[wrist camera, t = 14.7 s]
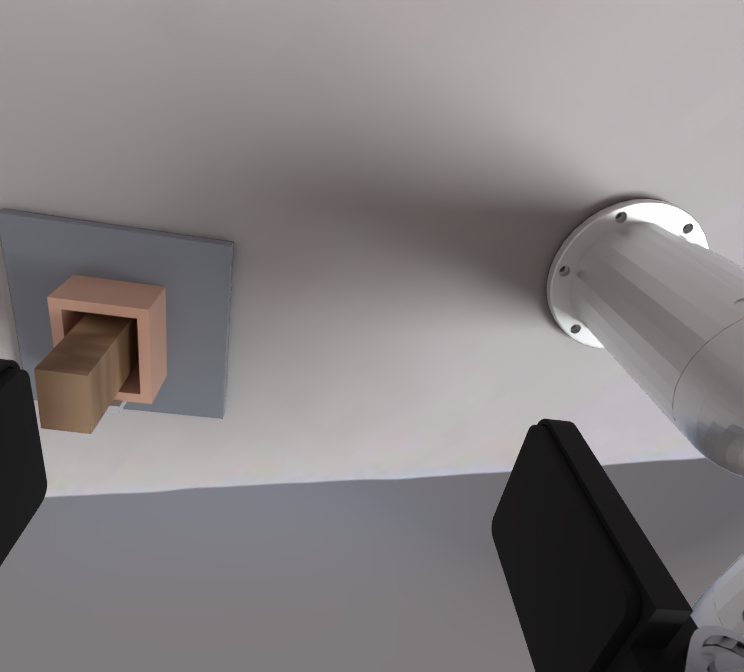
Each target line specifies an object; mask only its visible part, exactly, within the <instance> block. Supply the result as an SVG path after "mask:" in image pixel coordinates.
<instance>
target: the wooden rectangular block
mask: <svg viewBox="0 0 744 672" xmlns="http://www.w3.org/2000/svg"><path fill="white" fill-rule="evenodd" d="M138 361H139V349H138V327H137V318H129V317H121V316H113V315H105V314H96V313H87V314H86V315H85V316H84V317H83V318H82V319H81V320H80V321H79V322H78V323H77V325H76V326H75V327H74V328H73V329H72V330H71V331H70V332H69V333H68V334H67V335H66V336H65V337H64V338H63V339H62V340H61V341H60V342H59V343H58V344H57V345H56V346H55V347H54V349H53V350H52V351H51V352H50V353H49V354H48V355H47V356H46V357H45V358H44V359H43V360H42V361H41V362H40V363H39V364H38V365H37V366H36V367H35V368H34V374H35V382H36V390H37V399H38V407H39V415H40V423H41V428H44V429H53V430H62V431H70V432H79V433H88V434H91V433H92V432H93V430H94V429H95V427H96V426H97V424H98V423H99V421H100V419H101V418H102V416H103V415H104V413H105V412H106V410H107V409H108V407H109V405H110V404H111V402H112V401H113V399H114V398H115V396H116V395H117V393H118V392H119V390H120V388H121V387H122V385H123V384H124V382H125V381H126V379H127V378H128V376H129V374H130V373H131V371H132V370H133V368H134V367H135V365H136V364H137V362H138Z"/></svg>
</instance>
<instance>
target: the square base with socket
mask: <svg viewBox="0 0 744 672" xmlns="http://www.w3.org/2000/svg"><path fill="white" fill-rule="evenodd" d="M0 237H1V243H2V249H3V255H4V261H5V266H6V272H7V278H8V284H9V290H10V296H11V302H12V307H13V313H14V319H15V325H16V331H17V337H18V342H19V348H20V354H21V360H22V366H23V370H25V371H27V372H28V374H29V377H30V382H31V388H32V394H33V400H38V399H37V390H36V382H35V374H34V368H35V367H36V366H37V365H38V364H39V363H40V362H41V361H42V360H43V359H44V358H45V357H46V356H47V355H48V354H49V353H50V352H51V351H52V350H53V349H54V347H55V346H56V345H57V344H58V343H59V342H60V341H61V340H62V339H63V338H64V337H65V336H66V335H67V334H68V333H69V332H70V331H71V330H72V329H73V328H74V327H75V326H76V325H77V323H78V322H79V321H80V320H81V319H82V318H83V317H84V316H85V315H86V314H87V313H96V314H105V315H113V316H121V317H129V318H137V327H138V349H139V361H138V362H137V364H136V365H135V367H134V368H133V370H132V371H131V373H130V374H129V376H128V378H127V379H126V381H125V382H124V384H123V385H122V387H121V388H120V390H119V392H118V393H117V395H116V396H115V398H114V399H113V401H112V402H111V404H110V405H109V407H108V409H107V410H106V412H115V413H120V412H121V411H122V409H131V410H141V411H151V412H161V413H171V414H181V415H191V416H201V417H211V418H221V419H223V416H224V413H225V401H226V381H227V361H228V341H229V321H230V301H231V280H232V260H233V242H228V241H222V240H215V239H208V238H201V237H194V236H187V235H180V234H174V233H167V232H160V231H153V230H146V229H139V228H132V227H126V226H119V225H112V224H105V223H98V222H91V221H84V220H78V219H71V218H64V217H57V216H50V215H43V214H36V213H30V212H23V211H16V210H9V209H3V210H1V211H0Z"/></svg>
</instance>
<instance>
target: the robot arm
mask: <svg viewBox="0 0 744 672" xmlns="http://www.w3.org/2000/svg"><path fill="white" fill-rule="evenodd" d="M617 214H618V216H616V215H617ZM562 267H563V268H562ZM561 268H562V269H561ZM560 269H561V270H560ZM547 300H548V305H549V309H550V311H551V313H552V315H553V317H554V319H555V321H556V322H557V323H558V325H559V326H560V327H561V329H562V330H563V331H564V332H565V333H566V334H567V335H568V336H570V337H571V338H573V339H574V340H576V341H578V342H579V343H581V344H584V345H587V346H590V347H595V348H603V349H607V351H608V352H609V353H610V354H611V355H612V356H613V357H614V358H615V359H616V361H617V362H618V363H619V364H620V365H621V366H622V367H623V368H624V370H625V371H626V372H627V373H628V374H629V375H630V376H631V377H632V378H633V380H634V381H635V382H636V383H637V384H638V385H639V386H640V387H641V388H642V390H643V391H644V392H645V393H646V394H647V395H648V396H649V397H650V398H651V400H652V401H653V402H654V403H655V404H656V405H657V406H658V407H659V408H660V410H661V411H662V412H663V413H664V414H665V415H666V416H667V417H668V418H669V420H670V421H671V422H672V423H673V424H674V425H675V426H676V427H677V428H678V429H679V431H680V432H682V434H683V435H684V436H685V437H686V438H687V439H688V440H689V441H690V442H691V444H692V445H693V446H694V447H695V448H696V449H697V450H698V451H699V452H701V453H702V454H703V455H704V456H705V457H706V458H708V459H709V460H710V461H712V462H713V463H715V464H716V465H718V466H720V467H722V468H724V469H726V470H728V471H730V472H732V473H734V474H737V475H739V476H742V477H744V268H743V267H741V266H739V265H737V264H736V263H734V262H732V261H730V260H728V259H726V258H724V257H722V256H721V255H719V254H717V253H715V252H713V251H711V250H709V249H708V244H707V240H706V237H705V233H704V232H703V230H702V228H701V227H700V225H699V223H698V222H697V221H696V220H695V219H694V218H693V217H692V216H691V215H690V214H689V213H687V212H686V211H684V210H682V209H680V208H679V207H677V206H675V205H672V204H670V203H667V202H665V201H659V200H654V199H634V200H629V201H625V202H620V203H617V204H614V205H612V206H609V207H607V208H604V209H602V210H601V211H599V212H597V213H596V214H594V215H592V216H591V217H589V218H588V219H586V220H585V221H584V222H583V223H582V224H580V225H579V226H578V227H577V228H576V229H575V230H574V231H573V232H572V233H571V234H570V235H569V236H568V238H567V239H566V240H565V241H564V242H563V244H562V246H561V247H560V249H559V250H558V252H557V254H556V255H555V258H554V260H553V263H552V265H551V267H550V270H549V275H548V280H547ZM46 490H47V479H46V473H45V467H44V460H43V454H42V448H41V442H40V436H39V430H38V424H37V418H36V412H35V406H34V400H33V394H32V388H31V382H30V377H29V374H28V372H27V371H25V370H20V367H19V365H18V364H17V362H15V361H13V360H5V359H0V566H1V564H2V563H3V561H4V560H5V558H6V557H7V555H8V554H9V552H10V550H11V549H12V547H13V546H14V545H15V543H16V541H17V540H18V538H19V537H20V535H21V534H22V532H23V531H24V529H25V528H26V526H27V525H28V523H29V522H30V520H31V519H32V517H33V516H34V514H35V512H36V511H37V509H38V508H39V506H40V505H41V503H42V501H43V499H44V497H45V494H46ZM492 536H493V540H494V542H495V546H496V549H497V552H498V555H499V559H500V562H501V565H502V568H503V571H504V574H505V577H506V581H507V584H508V586H509V590H510V593H511V596H512V599H513V603H514V605H515V609H516V612H517V615H518V618H519V621H520V624H521V628H522V631H523V634H524V637H525V640H526V643H527V647H528V650H529V653H530V656H531V659H532V662H533V665H534V669H535V672H744V553H743V554H742V555H741V556H740V557H739V558H738V559H737V560H736V561H735V562H734V563H733V564H732V565H731V566H730V567H729V568H728V569H726V570H725V571H724V572H723V573H722V574H721V575H720V576H719V578H718V579H717V580H716V581H715V582H714V583H713V584H712V585H711V586H709V587H708V588H707V589H706V590H705V592H704V593H703V594H702V595H701V596H700V597H699V598H698V600H697V601H696V602H695V603H694V605H693V606H692V608H691V607H690V605H689V604H688V602H687V601H686V599H685V597H684V596H683V594H682V593H681V591H680V590H679V588H678V586H677V585H676V583H675V581H674V580H673V578H672V577H671V575H670V574H669V572H668V571H667V569H666V567H665V566H664V564H663V563H662V561H661V559H660V558H659V556H658V555H657V553H656V552H655V550H654V549H653V547H652V545H651V544H650V542H649V541H648V539H647V537H646V536H645V534H644V533H643V531H642V529H641V528H640V526H639V525H638V523H637V522H636V520H635V518H634V517H633V516H632V514H631V512H630V511H629V509H628V507H627V506H626V504H625V503H624V501H623V500H622V498H621V496H620V495H619V493H618V492H617V490H616V489H615V487H614V485H613V484H612V482H611V481H610V479H609V478H608V476H607V474H606V473H605V471H604V470H603V468H602V466H601V465H600V463H599V462H598V460H597V459H596V457H595V455H594V454H593V452H592V451H591V449H590V448H589V446H588V444H587V443H586V441H585V440H584V438H583V436H582V435H581V433H580V432H579V430H578V429H577V427H576V426H575V425H574V423H572V422H570V421H561V420H551V419H542V420H541V421H540V422H539V423H538V424H537V425H532V426H531V427H530V428H529V430H528V433H527V435H526V437H525V440H524V442H523V445H522V447H521V450H520V452H519V455H518V457H517V460H516V462H515V465H514V467H513V470H512V472H511V475H510V477H509V480H508V483H507V485H506V487H505V490H504V492H503V495H502V497H501V500H500V502H499V505H498V507H497V510H496V512H495V515H494V517H493V520H492Z"/></svg>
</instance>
